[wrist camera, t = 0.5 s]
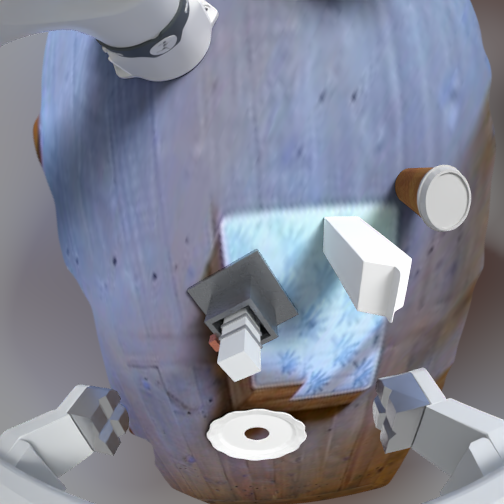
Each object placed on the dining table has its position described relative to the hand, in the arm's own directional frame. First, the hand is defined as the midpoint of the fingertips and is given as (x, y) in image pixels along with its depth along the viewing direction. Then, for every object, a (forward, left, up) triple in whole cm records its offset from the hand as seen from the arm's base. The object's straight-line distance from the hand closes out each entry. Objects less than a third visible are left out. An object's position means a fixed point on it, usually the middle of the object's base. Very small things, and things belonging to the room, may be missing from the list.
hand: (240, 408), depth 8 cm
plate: (+51, -30, -40) cm, 72 cm away
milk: (+13, +9, -40) cm, 43 cm away
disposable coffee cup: (+12, +24, -40) cm, 48 cm away
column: (+15, -11, -39) cm, 43 cm away
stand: (+15, -11, -40) cm, 44 cm away
